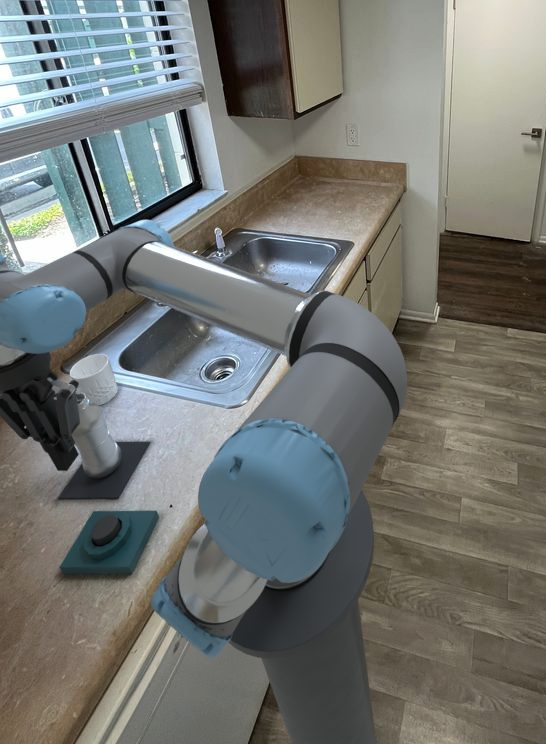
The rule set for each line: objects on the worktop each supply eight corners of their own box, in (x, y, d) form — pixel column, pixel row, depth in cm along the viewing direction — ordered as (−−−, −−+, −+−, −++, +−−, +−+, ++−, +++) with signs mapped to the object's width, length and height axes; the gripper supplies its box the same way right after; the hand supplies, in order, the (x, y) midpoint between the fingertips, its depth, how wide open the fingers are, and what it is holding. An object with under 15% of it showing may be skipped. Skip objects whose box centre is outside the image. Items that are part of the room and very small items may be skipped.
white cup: (75, 407, 106) (61, 377, 102) (100, 381, 113) (87, 352, 109) (105, 410, 105) (91, 380, 101) (127, 383, 112) (116, 354, 108)
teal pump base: (159, 517, 83) (153, 504, 81) (132, 573, 75) (125, 561, 73) (97, 517, 83) (90, 505, 81) (63, 574, 75) (55, 561, 73)
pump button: (125, 520, 79) (122, 514, 78) (112, 545, 76) (108, 539, 75) (103, 521, 79) (100, 514, 78) (89, 546, 76) (85, 539, 75)
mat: (150, 442, 97) (150, 441, 97) (118, 498, 86) (117, 497, 86) (97, 443, 97) (96, 441, 97) (58, 499, 86) (57, 497, 86)
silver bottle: (95, 456, 94) (62, 390, 85) (129, 450, 95) (100, 383, 86) (82, 486, 88) (45, 418, 80) (118, 478, 89) (86, 411, 81)
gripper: (74, 330, 62) (123, 440, 72) (-16, 331, 62) (45, 440, 73) (33, 371, 55) (93, 486, 66) (-68, 372, 56) (8, 486, 66)
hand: (68, 462), depth 69 cm, fingers closed
